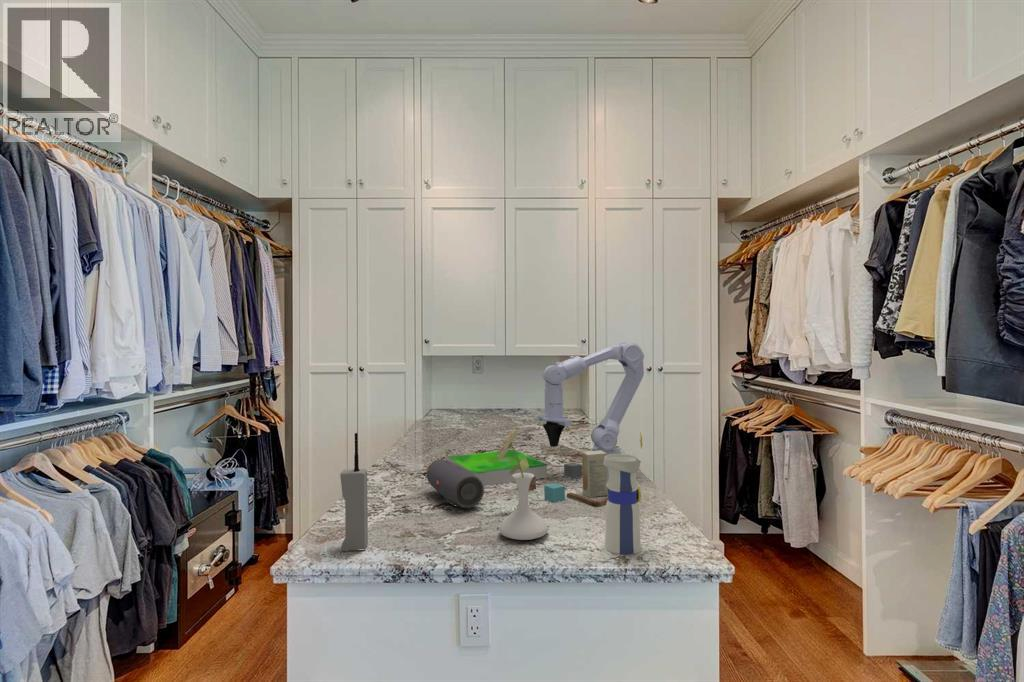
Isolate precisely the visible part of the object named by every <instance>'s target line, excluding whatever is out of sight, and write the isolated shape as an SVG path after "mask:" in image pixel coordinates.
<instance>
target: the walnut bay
mask: <svg viewBox="0 0 1024 682" xmlns="http://www.w3.org/2000/svg"><path fill="white" fill-rule="evenodd" d="M566 497H567V498H569V499H571V498H572V499H571V500H574V499H575V501H577V500H578V501H577V502H580V503H583V504H586V505H588V504H589V506H591V507H595V508H597V507H601V506H606V504H607V501H608V497H604V498H602V499H598V500H594V499H591V498H590V497H587V496H583V495H581V494H580V495H579V494H577V493H574V492H567V493H566Z"/></svg>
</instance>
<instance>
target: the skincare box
mask: <svg viewBox="0 0 1024 682" xmlns="http://www.w3.org/2000/svg"><path fill="white" fill-rule="evenodd" d="M606 455H607V453H605V452H603V451H601V450H600V451H592V450H590V451H582V452H581V463H582V494H583V495H585V497H586V498H596V497H605V496H608V488H607V486H606V483H607V482H608V479H607V467H606V466H604V465H603V461H604V457H605V456H606Z"/></svg>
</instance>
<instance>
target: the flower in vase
mask: <svg viewBox="0 0 1024 682" xmlns="http://www.w3.org/2000/svg"><path fill="white" fill-rule="evenodd" d="M517 435H518V429H517V428H513V429H511V430H510V432H509V435H508V437H507V438H504V439H503V442H502V443H503V445H501V447H500V448H499V449H498V450H497V451H498V452H500V453H499V454H498V455H497V457H499V459H500V458H502V457H503V456H504V455H505V454H506V453H507V452H508V450H513V451H514V453H515V455H516V457H517V460H518V464H516V465H514V466H513V467H512V469H511V470H510V473H509V474H513V473H515V471H516V470H517V468H518V467H519V469H520V471H521V473H516V474H513V475H512V477H513V478H514V480H515V481H516V482H515V483H516V484H515V485H516V489H517V488H518V489H517V494H518V495H517V496H518V501H517V502H518V503H517V506H516V508H515V509H514V511H512V512H511V513H510V514H508V515H507V516H506V517H505V518H504V519H503V520H502V521H501V522H500V524H499V526H498V531H499V532H500V534H501V535H502V536H504V537H505V538H509V539H512V540H516V541H517V540H518V541H528V540H529V541H530V540H534V539H535V540H536V539H538V538H541V537H544V536H545V535H546V534H547V533H548V531H549V525H548V523H547V522H546V520H544V519H543V518H542V517H540V516H539V515H538V514H537V513H536V512H535V511H534V510H532V509H531V507H530V505H529V492H530V491H529V485H530V482H531V480H532V478H533V477H534V475H533V474H531V473H523V472H522V471H524V470H526V469H527V468H528V467H529V464H528V461H527V459H526V457H525V458H524V459H522V460H521V461H520V462H519V458H518V456H517V453H516V451H517V450H516V449H515V447H514V445H513V444H514V441H515V440H516V437H517ZM515 450H516V451H515Z"/></svg>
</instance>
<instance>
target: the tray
mask: <svg viewBox="0 0 1024 682" xmlns="http://www.w3.org/2000/svg"><path fill="white" fill-rule="evenodd" d="M515 451H516V453H517V456H518V458H519V462H520V461H521V460H522V459H524V458H525V457H526V459H527V461H528V464H529V467H528V468H527V469H526V470H524V471H522V472H523V473H531V474H533V475H534V476H535V477H536V479H537V480H540V479H539V478H544V479H547V478H548V464H547V463H545V462H543V461H540V460H538V459H536V458H534V457H532V456H529V455H527V454H525V453H523V452H521V451H518V450H516V449H515ZM499 453H500V452H498V450H497V451H488V452H479V453H468V454H459V455H450V456H449V455H448V456H447V460H448V461H450V462H453V463H455V464H457V465H459V466H461V467H463V468H465V469H466V470H468V471H469V472H471V473H472V474H474V475H475V476H476V477H478V478H479V479H480V481H481V482H482V484H483V487H487V486H486V485H491V486H495V485H494V484H499V485H502V484H501V483H506V484H510V483H509V482H514V483H516V481H515V480H514V478H513V477H512V475H513V474H516V473H521V471H520V469H519V467H518V468H517V470H516V471H515V473H513V474H509V473H510V470H511V469H512V467H513V466H514V465H516V464H518V460H517V457H516V455H515V453H514V451H513V449H509V450H508V452H507V453H506V454H505V455H504V456H503V457H502V458H500V459H499V457H497V455H498V454H499ZM546 477H547V478H546Z"/></svg>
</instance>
